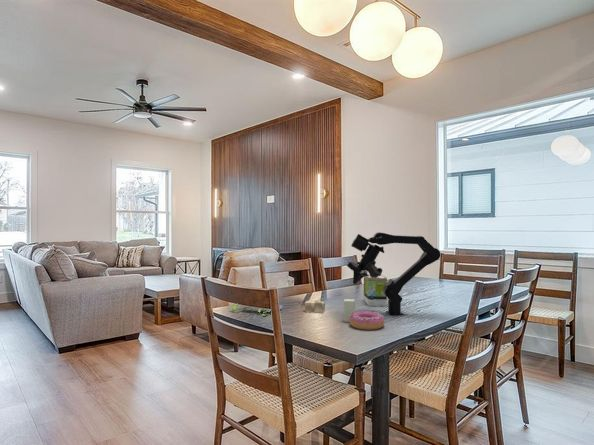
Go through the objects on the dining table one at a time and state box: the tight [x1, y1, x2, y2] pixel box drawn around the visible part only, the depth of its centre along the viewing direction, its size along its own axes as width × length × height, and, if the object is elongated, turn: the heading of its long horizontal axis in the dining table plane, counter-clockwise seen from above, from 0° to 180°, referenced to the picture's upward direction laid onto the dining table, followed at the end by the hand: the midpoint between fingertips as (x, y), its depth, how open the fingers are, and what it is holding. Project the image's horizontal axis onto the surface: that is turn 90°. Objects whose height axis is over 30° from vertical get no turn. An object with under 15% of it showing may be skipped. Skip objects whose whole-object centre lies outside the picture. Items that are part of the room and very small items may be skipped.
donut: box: [349, 310, 385, 331], centre depth 157 cm, size 14×14×5 cm
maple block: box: [304, 300, 326, 314], centre depth 183 cm, size 4×4×9 cm
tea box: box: [363, 273, 388, 307], centre depth 201 cm, size 15×10×15 cm, turn 179°
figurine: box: [230, 303, 284, 316], centre depth 185 cm, size 18×27×6 cm
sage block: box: [343, 298, 356, 323], centre depth 165 cm, size 4×4×9 cm
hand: (354, 283), depth 182 cm, fingers closed
